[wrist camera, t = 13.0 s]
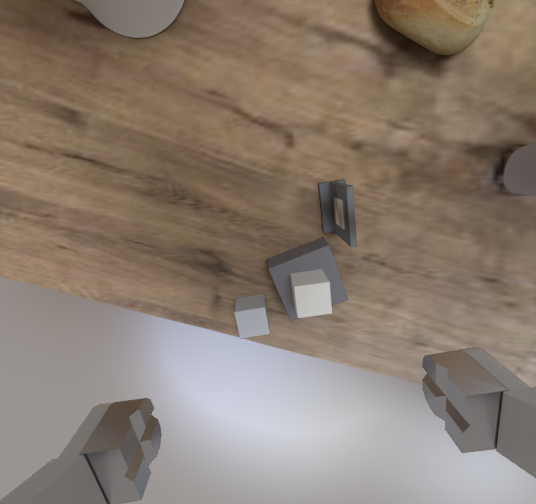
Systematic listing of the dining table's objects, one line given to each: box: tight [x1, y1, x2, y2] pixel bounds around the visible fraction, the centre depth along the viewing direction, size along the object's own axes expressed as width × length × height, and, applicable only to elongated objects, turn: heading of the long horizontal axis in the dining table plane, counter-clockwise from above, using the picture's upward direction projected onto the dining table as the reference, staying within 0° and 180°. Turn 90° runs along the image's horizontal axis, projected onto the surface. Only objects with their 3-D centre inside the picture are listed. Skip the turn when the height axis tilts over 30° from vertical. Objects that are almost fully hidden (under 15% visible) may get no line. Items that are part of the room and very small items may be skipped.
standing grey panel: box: [318, 179, 357, 247], centre depth 41 cm, size 8×4×10 cm, turn 9°
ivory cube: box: [290, 269, 332, 318], centre depth 43 cm, size 5×5×5 cm
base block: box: [267, 237, 349, 321], centre depth 47 cm, size 10×10×5 cm
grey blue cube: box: [234, 294, 270, 339], centre depth 49 cm, size 5×5×5 cm
